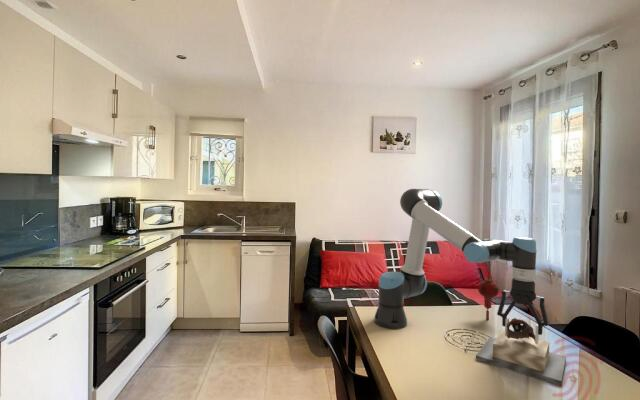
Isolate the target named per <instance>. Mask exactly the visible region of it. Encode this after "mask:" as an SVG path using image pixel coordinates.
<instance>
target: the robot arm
mask: <svg viewBox="0 0 640 400" xmlns="http://www.w3.org/2000/svg"><path fill="white" fill-rule="evenodd" d="M399 204H400V208H401V210H402V211H403V212H404V213H405V214H406V215H408V216H409V217H410V218H411V219H412V220H411V226H410V230H409V237H408V242H407V248H406V253H405V259H404V260H405V261H404V264H403V265H401V266H400V270H399V271H394V270H393V271H387V272H383V273H382V274H380V276H379V278H378V279H379V280H378V306H377V308H376V311H375V315H374V324H376V325H377V326H379V327H382V328H386V329H403V328H405V327H407V325H408V319H407V315H406V312H405V308H404V305H405V304H404V303H405V302H404V299H408V298H412V297H418V296H419V295H422V294H423V293H425V291H426V290H427V286H428V280H427V279H426V278H427V277H426V275H425V273H426V272H425V271H424V269H423V265H424V262H425V261H424V260H425V255H426V250H427V244H428V238H429V233H430V229H431V230H432V231H434V232H435V233H436V234H438V235H439V236H440V237H442V238H443V239H444V240H446V241H447V242H449V243H450V244H452V245H453V246H454V247H455V248H457V249H459V250H460V251H461V252H462V253H463V255H464V258H465V260H467V261H468V262H470V263H472V264H480V263H481V264H482V263H485V262H490V261H491V262H492V261H496V260H502V261H509V262H511V277H512V279H511V290H507V289H503V290H502V291H501V301H500V302H499V306H498V310H497V313H496V315H497V316H499V317H501V318H502V319H501V320H502V322H501V323H502V326H503V327H504V329H505V330H504V331H505V336H507V335H506V333H507V324H508V323H509V322H510V317H508V315H509V314H510V313H511V311H512V310H513V308H514V306H515V305H516V304H518V305H523V306H528V308H529V311H530V312H531V313H532V316H533V318H534V320H535V322H536V324H535V332H534V335H535V344H538V342H539V340H540V339H539V337H540V336H542V335H543V329H544V328H543V327H548V326H549V324H550V323H549V322H550V321H549V318H548V313H547V309H546V306H545V299H546V297H544V296H539V295H537V294H536V281H535V280H536V265H537V241H536V240H535V239H534V238H533V237H524V236H515V237H513V238H512V241H508V240H501V239H494V238H483V239H482V240H481V239H479V238H478V237H476V236H475V235H473V234H472V233H471V232H469V231H468V230H466V229H465V228H463V227H462V226H460V225H459V224H457V223H455V222H454V221H453V220H451V219H449V217H448V216H447V217H446V216H445V215H444V214H442V213H440V210H441V209H442V206H443V199H442V197H441V195H440V193H439V192H437V191H436V190H434V189H430V188H410V189H407V190H406V191H404V192H403V194H401V196H400V198H399ZM509 295H510V296H511V298H512V299H513V300H512V301H511V302H510V304H509V306H508V307H507V308H506V310H505V311H504V308H505V305H506V302H507V298H508V297H509ZM535 300H537V303H539V309H540V313H541V316H542V318H541V317H540V314H539V312H538V311H537V309H536V307H535V304H534V301H535ZM503 311H504V312H503Z"/></svg>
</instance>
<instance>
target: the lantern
mask: <svg viewBox="0 0 640 400" xmlns="http://www.w3.org/2000/svg"><path fill="white" fill-rule="evenodd" d="M477 290H478V291H477V292H479V294H480V295H481V296H482V297H483V298H484V300H483V301H484V303H483V306H484V308H485V309H486V310H485V320H487V321H490V317H489V316H490V310H489V309H491V308H492V300H493V298H496V297H497V296H498V295H499V291H500V290H499V286H498V284H497V283H496V282H494V281H493V279H491V278H490V272H488V277H487V278H485V279H484V280H483V281H481V282H479V284H478V286H477Z"/></svg>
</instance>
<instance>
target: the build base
mask: <svg viewBox="0 0 640 400" xmlns="http://www.w3.org/2000/svg"><path fill="white" fill-rule="evenodd" d="M476 359H477V360H476ZM475 360H476V361H479V360H481V361H480V362H483V361H484V362H483V363H486V364H490V365H493V366H497V367H499V368H503V369H506V370H508V371H509V370H510V371H512V372H515V373H519V374H521V375H526V376H529V377H532V378H535V379H539V380H542V381H544V382H548V383H552V384H554V385H559V386H562V383H563V378H564V373H565V367H566V362H567V361H566V360H567V357H566V356H564V355H562V354H561V355H560V354H556V353H553V352H550V341H546V340H543V339H539V342H538V344H535V341H534V339H533V338H531V337H529V339H528V338H522V339H520V338H519V339H514V338H509V339H508V338H507V336H505V330H502V331H500V333H499V334H498V336H497V337H496V338H495V337H492V336H489V337H488V339H487V341H486V342H485V343H484V344H483V345H482V347H481V348H480V349H479V351H478V352H477V354H476V355H475Z"/></svg>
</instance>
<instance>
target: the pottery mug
mask: <svg viewBox="0 0 640 400" xmlns="http://www.w3.org/2000/svg"><path fill="white" fill-rule="evenodd" d="M510 327H512V329H511V328H510ZM506 335H507V338H508V339H509V338H514V339H519V338H520V339H522V338H528V339H529V337H531V338H533V339H534V341H535V332H534V328H533V326H531V325H530V324H529V323H528V322H527V321H526V320H523V319H519V318H518V319H517V318H516V317H514V318H511V320H509V323H508V324H507V333H506Z"/></svg>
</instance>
